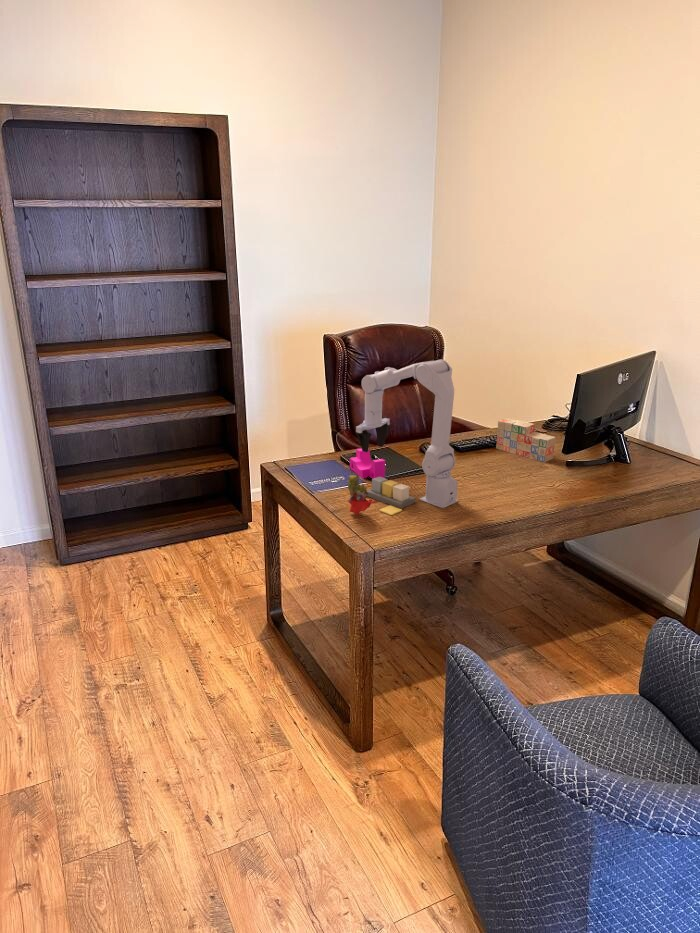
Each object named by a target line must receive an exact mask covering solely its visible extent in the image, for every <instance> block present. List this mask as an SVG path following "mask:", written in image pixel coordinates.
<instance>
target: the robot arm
mask: <svg viewBox="0 0 700 933" xmlns="http://www.w3.org/2000/svg"><path fill="white" fill-rule="evenodd" d="M452 374H453V368H452V366H450V364H449V362H447V361H446V360H444V359H442V358H441V359H437V360H429V361H422V362H416V363H412V364H410V365H407V366H405V367H402V368H400V369H396V368H394V367H390V366H387V367H385V368H384V370H381V371H380V370H377V371H375V372H374V374H366V375H365V376H364V377H363V378H362V379H361V388H362V391H363V392H364V420H363V421H362V423H360V424H359V425H357V426H355V435H356V436H357V438H358V441H359V443H360V449H361V448H362V451H364V452H368V449H369V448H370V447H369V446H370V440H371V436H372V433H371V432H369V430H373V429H375V434H376V445H377V447H380V448H384V446H385V442H386V439H387V437H388V433H389V432H390V430H391V425H390V421H391V420H390V419H391V418H388V417H384V418H383V396H384V393H385V392H384V390H385V389H389V388H393V387H396V386H398V385H399V384H400V382H401V380H405V379H408V378H411V377H412V378H413V379H414V380H417V381H418V383H419V384H420V385H422V386H423V387H425V388H426V389H427V390H428V391H430V392H431V393H432V394H434V407H433V416H432V417H433V418H432V420H433V421H432V429H431V430H432V431H431V440H430V445H429V447H428V448H427V449H426V451H425V452H424V454H425V455H424V458H423V460H422V462H421V466H422V471H423V472H424V474H425V476H426V481H425V496H422V497H420V498H419V501H421V502H425V503H427V504H430V505H433V506H435V507H437V508H438V507H439V508H441V509H445V508H446V507H449V506H451V505H453V504H456V503H458V502H459V500H458V498H457V497H458V480H456V478H454V477H453V476H451V473H452V470H453V469H454V468H455V465H456V459H455V458H456V457H455V455H454V454H455V449H454V448H453V447H452V446H451V445H450V439H451V428H452V421H453V420H452V419H453V409H454V397H455V386H454V383H453V378H452ZM369 450H370V449H369Z"/></svg>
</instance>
